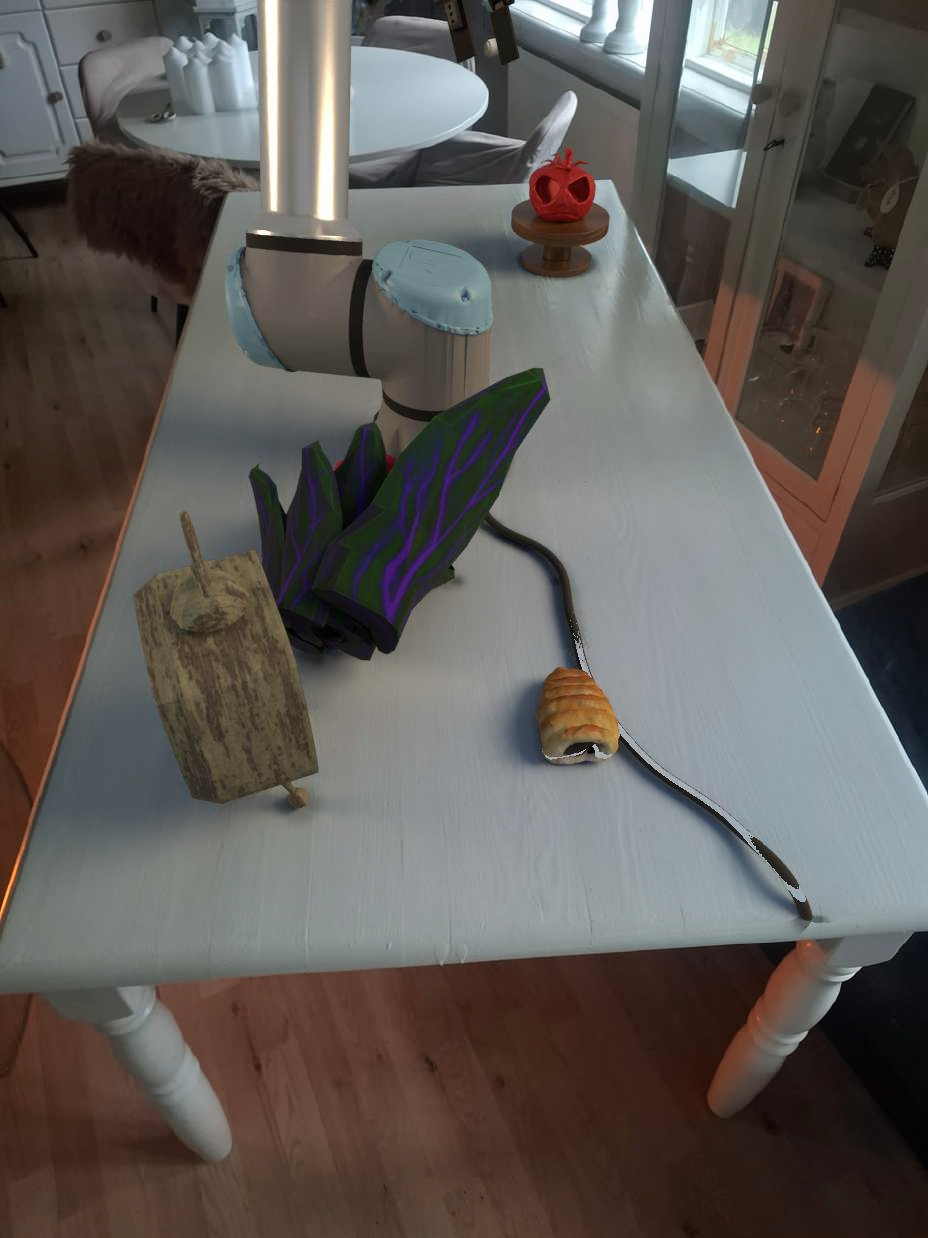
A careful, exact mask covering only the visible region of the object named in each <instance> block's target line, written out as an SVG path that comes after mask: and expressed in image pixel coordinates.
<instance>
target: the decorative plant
mask: <svg viewBox="0 0 928 1238" xmlns="http://www.w3.org/2000/svg"><path fill="white" fill-rule="evenodd" d="M550 401H552V400H551V395H550V391H549V387H548V382H547V379H546V375H545V370H544V368H543V367H531V368H529V369H526V370H524V371H523V370H522V371H520V372H517V373H515V374H512V375H508V376H506V377H503V378H502V379H499V380H498V381H496V382H494V383H493V384H490V385H489V387H487V388H485V389H484V390H482V391H480V392H478V393H476V394H474V395H473V396H471V397H469V398H467V399H465V400H463V401H462V402H460V403H458V404H456V405H454V406H452V407H451V408H449V409H447V410H445V411H443V412H442V413H440V414H438V415H436V416H435V417H434V418H433V419H432V420H431V421H430V422H429V423H428V424H427V425H426V426H425V428H424V429H423V430H422V431H421V432H420V433H419V434H418V435H417V436H416V437H415V439H414V440H413V441H412V442H411V443H410V444H409V445H408V446H407V447H406V449H405V450H404V451H403V452H402V453H401V454H400V455H399V457H398V459H397V460H396V459H395V458H394V457H393V456H391V455H388V454H386V450H385V446H384V442H383V437H382V434H381V431H380V429H379V428H378V426H377V424H376V421H375V422H373V421H371V422H369V423H365V424H362V425H360V426H359V427H357V429H356V430H355V431H354V434H353V437H352V439H351V442H350V444H349V445H348V446H349V447H348V449H347V451H346V453H345V456H344V459H341V460H339V461H337V462H336V464H335V466H334V468H333V466H332V463H331V461H330V460H329V458H328V457H327V455H326V453H325V451H324V450H323V448H322V446H321V443H320V441H319V440H318V439H317V440H315V441H314V442H312V443H309V444H308V445H306V446H304V447H302V448H301V463H300V464H301V469H300V472H299V477H298V479H297V481H298V482H297V484H296V490H295V493H294V495H293V497H292V499H291V502H290V504H289V506H288V509H287V511H286V512H285V509H284V508H283V505H282V503H281V500H280V498H279V492H278V485H276V483H275V482H274V480H273V479H272V478H271V476H270V475H269V474H268V473H266V472H265V471H264V470H262V469H261V468H260V467H259V466H260V463H261V462H259V463H258V464H256V465H255V466H254V467H253V468H251V469H250V471H249V474H248V480H249V483H250V486H251V489H252V494H253V499H254V503H255V507H256V513H257V518H258V526H259V533H260V541H261V543H260V544H261V545H260V546H261V565H262V567H263V570H264V573H265V575H266V578H267V580H268V583H269V586H270V588H271V591H272V594H273V596H274V599H275V602H276V605H277V608H278V611H279V613H280V616H281V619H282V622H283V625H284V627H285V630H286V633H287V636H288V639H289V642H290V645H291V647H293V648H295V649H297V650H299V651H301V652H303V653H306V654H307V653H308V654H313V655H317V656H318V655H323V652H324V650H325V649H326V650H338V651H340V652H342V653H344V654H346V655H349V656H351V657H353V658H355V659H358V660H360V661H368V662H370V661H371V659H372V657H373V654H374V653H375V650H376V649H377V650H378V652H380V653H382V654H384V655H389V654H391V653H393V652H394V651H396V649H397V647H398V645H399V642H400V639H401V637H402V635H403V632H404V631H405V628H406V625H407V624H408V621H409V619H410V615H411V614H412V611H413V610H414V608H416V606H417V605H418V604H420V602H421V601H422V600H423V599H424V598H425V597H426V596H427V595H428V594H429V593H430V592H431V591H432V590H434V589H436V588H437V587H440V586H441V585H443V584H445V583H446V582H449V581H453V580H455V578H456V575H455V574H456V573H455V572H456V569H455V567H454V565H453V564H454V562H456V560H457V559H458V558H459V557H460V555H461V554H463V552H464V551H465V549H466V548H468V546H469V544H470V542H471V541H472V540H473V538H474V536H475V534H476V533H477V532H478V530H479V528H480V527H481V525H482V523H483V522H484V521H485V520H484V519H485V517H486V515H487V514H488V512H490V511H491V509H492V508H493V506H494V504H495V503H496V501H497V500H498V499H499V497H500V495H501V494H500V493H501V491H502V489H503V486H504V483H505V480H506V478H507V475H508V472H509V470H510V468H511V465H512V463H513V460H514V458H515V454H516V452H517V451H518V450H519V448H520V446H521V445H522V443H523V442H524V440H525V439H526V438H527V436H528V434H529V433H530V431H532V428H533V427H534V425H535V424H536V422H537V421H538V419H539V418H540V416H541V415H542V414H543V412H544V411H545V409H546V407H547V406H548V405H549V403H550Z"/></svg>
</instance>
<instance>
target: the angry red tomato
mask: <svg viewBox="0 0 928 1238" xmlns="http://www.w3.org/2000/svg"><path fill="white" fill-rule="evenodd" d="M573 153H574V150H573V149H572V147H571V148H569V147H568V148H565V155H564V159H563V160H562V159H561V156H560V154H558V153H553V154H552V155H551V154H550V155H549V156H550V157H555V158H556V161H554V160H553V159H545V160H543V161H540V164H543V163H545V162H549V163H548V164H547V163H546V164H544V165H542V166H541V167H537V169H535V170H533V172H532V173H531V174H530V177H529V181H528V197H529V198H528V199H530V202H531V204H532V206H533V208H534V210H535V211H536V212H537V214H538V215H539V216H540V217H541V218H544V219H545V220H548V221H563V222H572V221H576V220H578V219H580V218H582V217H584V216H585V215H586V214H587V213H588V212H589V210H590V208H591V206H592V203H593V202H594V201H595V199H596V191H597V185H596V182H595V179H594V177H593V176H592V175H591V174H590V173H589V172H588V171H587V170H585V169H583V168H582V167H581V166H579V165H589V161H588V162H586V161H584V160H576V161H575V162H573V163H572V161H573V159H574V158H575V157H576V156H577V154H573Z"/></svg>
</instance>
